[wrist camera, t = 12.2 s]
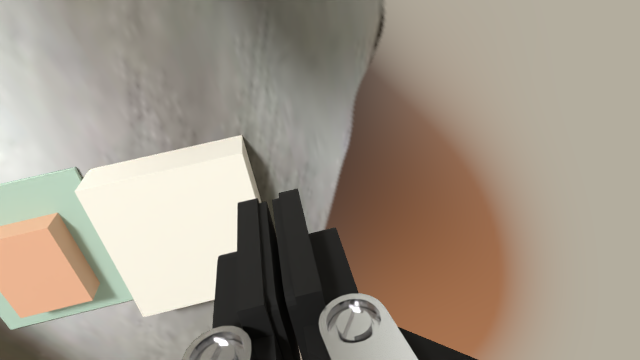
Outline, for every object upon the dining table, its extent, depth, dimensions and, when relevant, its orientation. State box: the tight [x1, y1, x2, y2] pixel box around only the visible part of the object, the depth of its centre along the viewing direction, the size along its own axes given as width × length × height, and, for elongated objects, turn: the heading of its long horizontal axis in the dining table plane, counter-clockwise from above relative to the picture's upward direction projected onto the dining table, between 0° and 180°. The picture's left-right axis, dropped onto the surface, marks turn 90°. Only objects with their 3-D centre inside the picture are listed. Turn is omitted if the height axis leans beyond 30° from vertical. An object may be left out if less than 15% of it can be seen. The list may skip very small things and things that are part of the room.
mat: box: [0, 167, 134, 330], centre depth 41 cm, size 16×14×1 cm
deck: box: [74, 135, 261, 317], centre depth 40 cm, size 15×14×4 cm
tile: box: [0, 213, 100, 318], centre depth 40 cm, size 9×7×2 cm
